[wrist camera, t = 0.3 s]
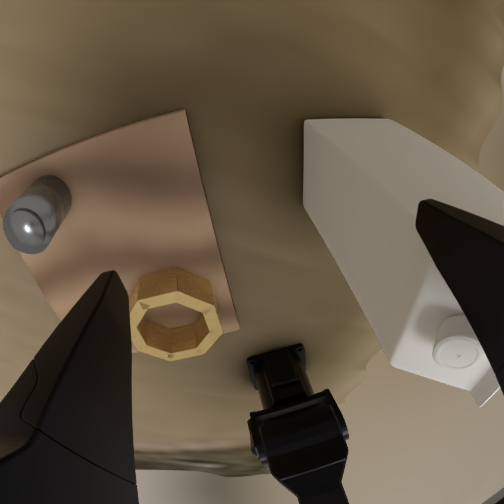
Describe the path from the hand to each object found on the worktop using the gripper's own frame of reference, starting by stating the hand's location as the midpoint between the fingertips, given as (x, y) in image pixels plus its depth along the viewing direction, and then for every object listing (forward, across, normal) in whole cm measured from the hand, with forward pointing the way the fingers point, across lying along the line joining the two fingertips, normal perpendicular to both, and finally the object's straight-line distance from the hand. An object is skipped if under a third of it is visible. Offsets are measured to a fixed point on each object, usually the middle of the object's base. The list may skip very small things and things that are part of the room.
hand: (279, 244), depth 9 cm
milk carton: (+14, -9, +5) cm, 17 cm away
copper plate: (+14, +10, +9) cm, 19 cm away
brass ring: (+13, +7, +14) cm, 20 cm away
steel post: (+14, +13, +2) cm, 20 cm away
